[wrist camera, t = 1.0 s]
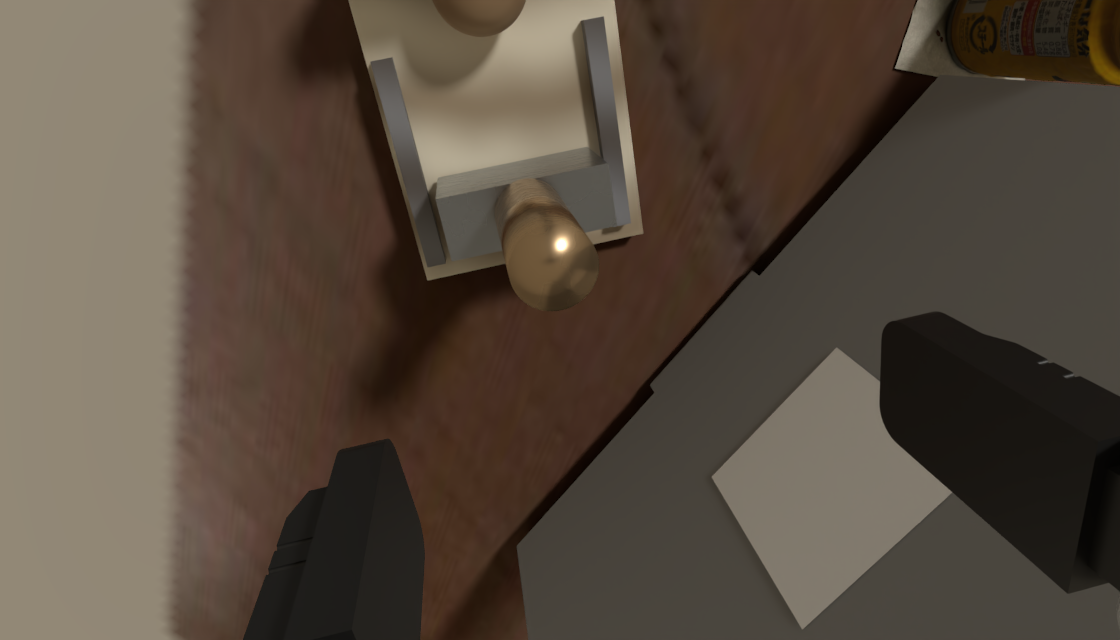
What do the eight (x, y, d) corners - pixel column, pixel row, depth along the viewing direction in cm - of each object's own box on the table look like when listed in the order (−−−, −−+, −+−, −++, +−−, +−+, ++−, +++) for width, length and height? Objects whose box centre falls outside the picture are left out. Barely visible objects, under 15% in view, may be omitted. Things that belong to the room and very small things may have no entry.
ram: (437, 175, 33) (429, 250, 21) (586, 144, 34) (659, 200, 22) (452, 234, 35) (452, 334, 23) (596, 203, 35) (668, 285, 23)
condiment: (1016, 93, 38) (1241, 114, 27) (892, 68, 36) (1080, 80, 25) (1073, -45, 35) (1348, -83, 25) (942, -79, 34) (1176, -136, 23)
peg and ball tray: (326, -89, 29) (290, -126, 23) (591, -136, 30) (629, -185, 24) (428, 273, 37) (422, 323, 30) (637, 228, 38) (676, 266, 31)
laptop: (781, 663, 56) (1058, 1187, 30) (513, 524, 45) (592, 1150, 20) (1140, 337, 47) (1948, 684, 22) (914, 72, 37) (1967, 144, 11)
